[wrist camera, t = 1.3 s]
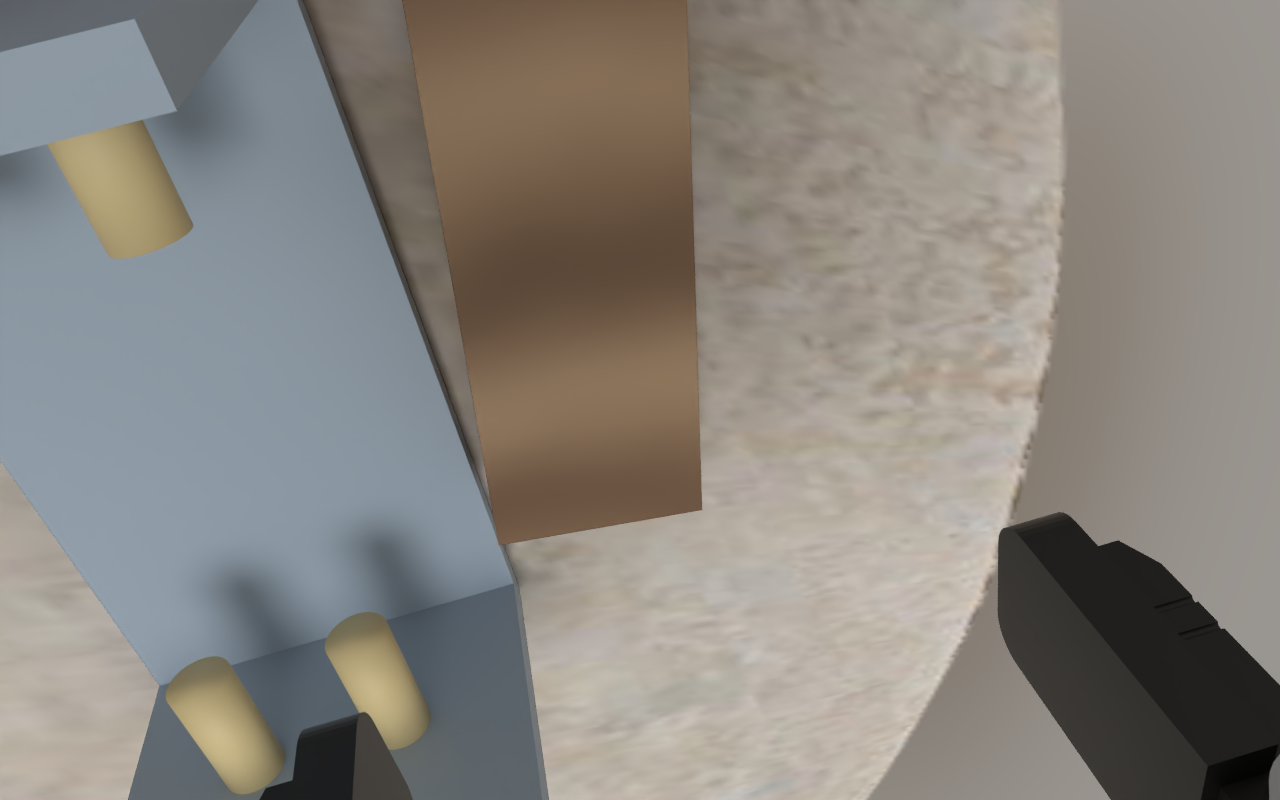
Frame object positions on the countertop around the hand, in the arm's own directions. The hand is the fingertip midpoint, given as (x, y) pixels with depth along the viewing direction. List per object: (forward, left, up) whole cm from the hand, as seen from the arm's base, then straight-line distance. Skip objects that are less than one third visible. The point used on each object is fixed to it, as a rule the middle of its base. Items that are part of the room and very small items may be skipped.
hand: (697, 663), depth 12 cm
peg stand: (+2, -10, -16) cm, 18 cm away
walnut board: (0, 0, -16) cm, 16 cm away
